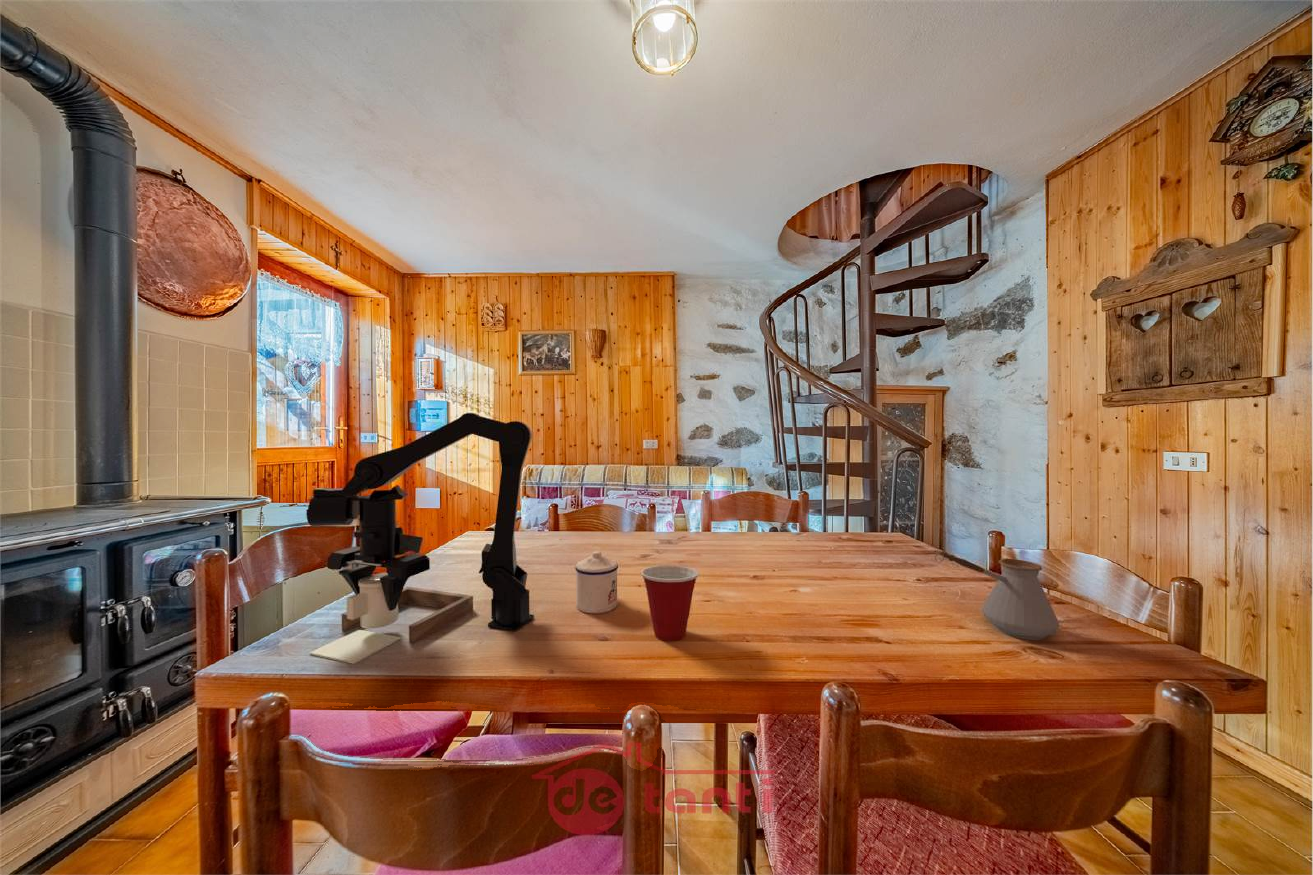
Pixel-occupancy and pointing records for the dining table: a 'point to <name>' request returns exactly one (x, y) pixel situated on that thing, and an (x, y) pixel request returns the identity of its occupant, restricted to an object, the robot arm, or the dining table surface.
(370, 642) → the pad
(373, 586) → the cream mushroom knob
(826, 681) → the dining table surface
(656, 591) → the plastic cup
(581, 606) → the teacup with lid
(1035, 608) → the coffee pot
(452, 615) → the cradle
